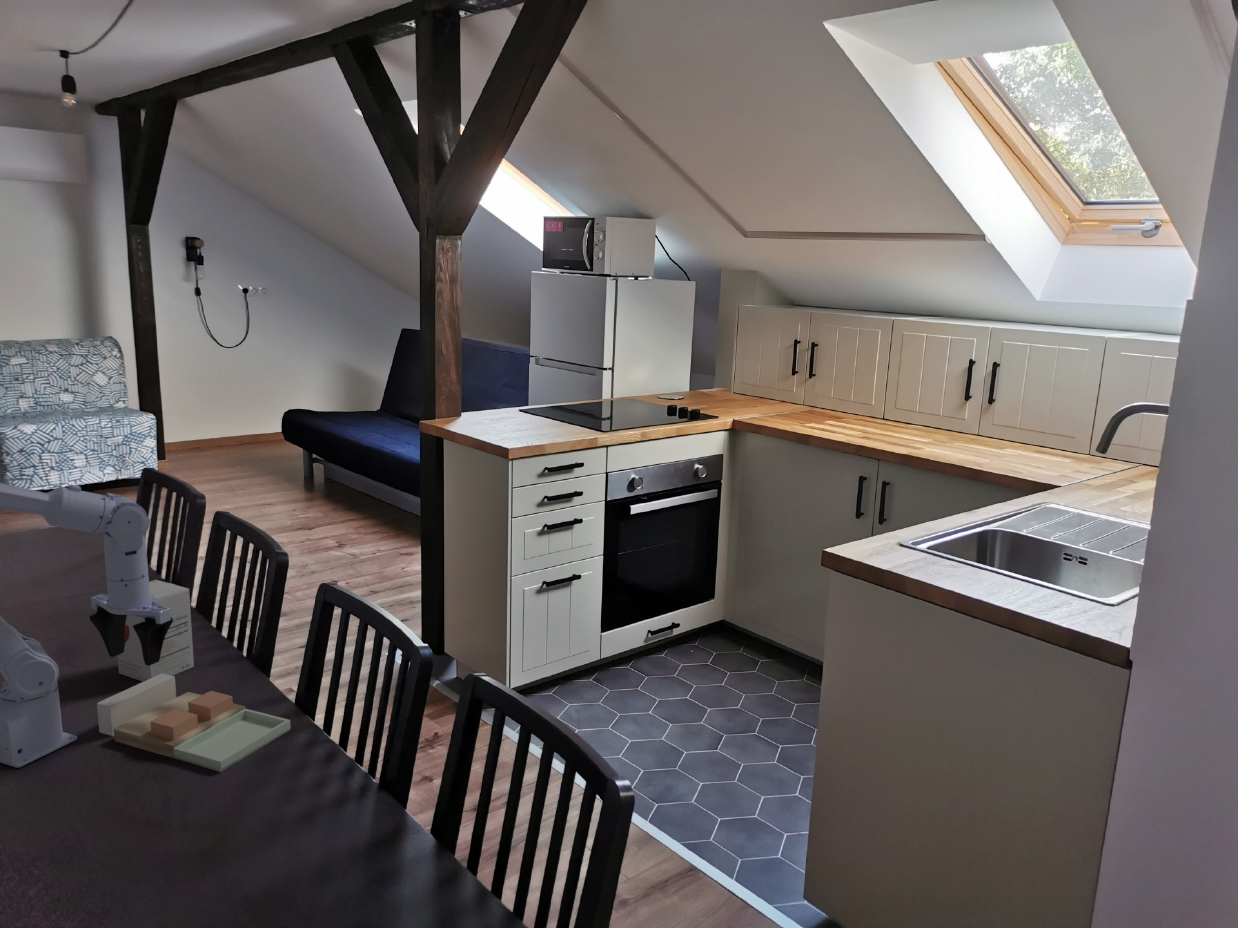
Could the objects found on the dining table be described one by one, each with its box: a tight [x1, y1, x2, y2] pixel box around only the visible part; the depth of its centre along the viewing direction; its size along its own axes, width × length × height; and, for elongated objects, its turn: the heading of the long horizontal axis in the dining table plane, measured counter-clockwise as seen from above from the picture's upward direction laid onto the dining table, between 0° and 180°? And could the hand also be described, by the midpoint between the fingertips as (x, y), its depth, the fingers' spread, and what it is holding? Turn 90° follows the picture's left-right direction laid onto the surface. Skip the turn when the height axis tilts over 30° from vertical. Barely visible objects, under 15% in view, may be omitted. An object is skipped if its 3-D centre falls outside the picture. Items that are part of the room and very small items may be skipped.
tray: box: [173, 708, 292, 773], centre depth 141 cm, size 14×9×2 cm, turn 157°
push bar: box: [96, 673, 177, 737], centre depth 148 cm, size 12×3×5 cm, turn 157°
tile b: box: [188, 690, 234, 720], centre depth 147 cm, size 4×4×2 cm
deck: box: [113, 691, 246, 759], centre depth 145 cm, size 14×12×2 cm
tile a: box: [150, 709, 198, 740], centre depth 141 cm, size 4×4×2 cm
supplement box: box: [116, 579, 195, 682], centre depth 165 cm, size 9×9×15 cm
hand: (134, 658), depth 147 cm, fingers open, 7 cm apart
